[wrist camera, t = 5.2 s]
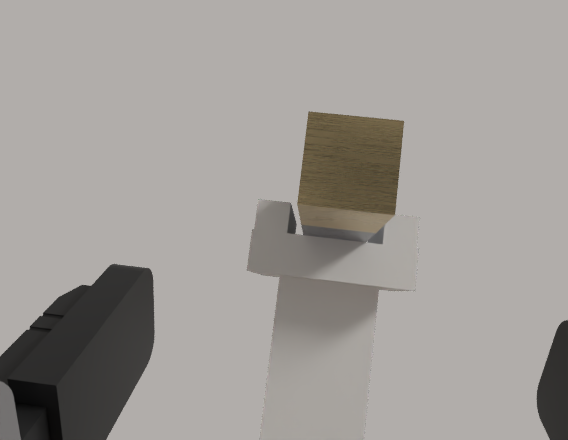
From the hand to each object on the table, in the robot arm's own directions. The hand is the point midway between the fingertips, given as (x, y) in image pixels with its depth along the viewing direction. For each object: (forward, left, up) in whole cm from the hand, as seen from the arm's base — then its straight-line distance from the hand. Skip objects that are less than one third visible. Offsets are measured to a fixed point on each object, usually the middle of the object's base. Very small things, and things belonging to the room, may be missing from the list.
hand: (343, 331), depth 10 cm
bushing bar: (0, -17, +3) cm, 17 cm away
